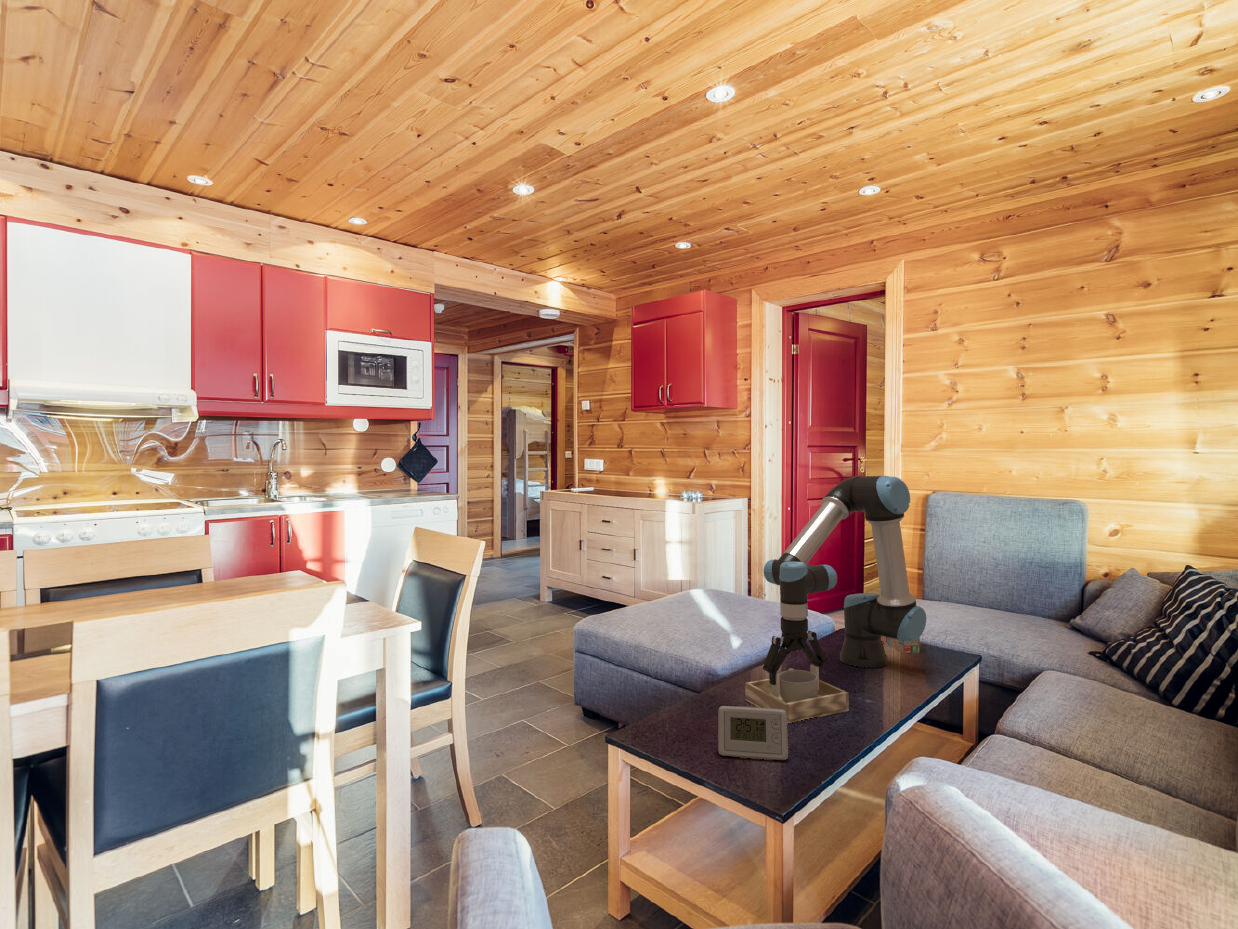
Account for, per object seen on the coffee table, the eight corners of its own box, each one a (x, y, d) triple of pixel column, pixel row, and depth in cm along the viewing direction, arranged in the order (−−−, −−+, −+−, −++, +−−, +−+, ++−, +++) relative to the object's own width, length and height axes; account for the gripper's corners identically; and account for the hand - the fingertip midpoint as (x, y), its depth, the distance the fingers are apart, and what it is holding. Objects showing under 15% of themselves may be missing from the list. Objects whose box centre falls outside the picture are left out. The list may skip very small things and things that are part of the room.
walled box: (804, 689, 193) (803, 672, 193) (848, 710, 175) (848, 692, 175) (745, 700, 185) (745, 682, 185) (786, 724, 167) (785, 705, 167)
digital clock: (715, 756, 150) (714, 711, 150) (724, 741, 158) (723, 698, 158) (785, 768, 143) (784, 721, 143) (791, 752, 151) (790, 707, 151)
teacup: (820, 712, 172) (819, 682, 172) (778, 709, 175) (778, 680, 175) (815, 693, 186) (814, 666, 186) (777, 691, 188) (776, 664, 188)
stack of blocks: (873, 638, 247) (873, 606, 247) (889, 637, 248) (888, 606, 248) (904, 654, 226) (903, 619, 226) (920, 653, 227) (919, 619, 227)
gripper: (820, 609, 188) (821, 681, 188) (749, 619, 179) (750, 694, 179) (838, 615, 182) (839, 689, 181) (765, 625, 172) (766, 703, 172)
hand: (795, 692), depth 180 cm, fingers open, 13 cm apart
